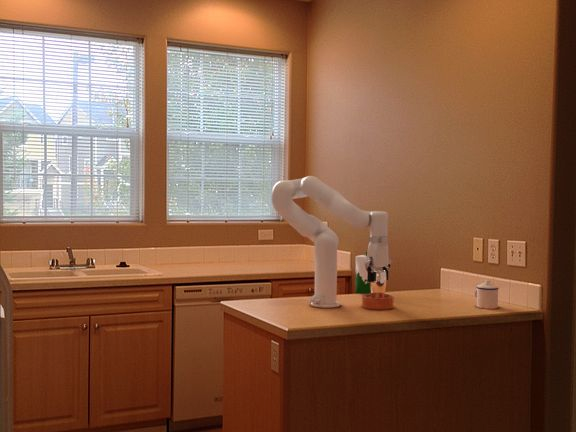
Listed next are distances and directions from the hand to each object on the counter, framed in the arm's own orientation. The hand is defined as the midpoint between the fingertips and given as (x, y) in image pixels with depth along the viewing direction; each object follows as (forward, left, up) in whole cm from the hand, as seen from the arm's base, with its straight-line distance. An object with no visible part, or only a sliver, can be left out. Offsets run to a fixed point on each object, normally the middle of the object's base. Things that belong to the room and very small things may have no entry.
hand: (377, 280), depth 279 cm
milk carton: (+27, +28, -12) cm, 41 cm away
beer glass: (0, 0, -11) cm, 11 cm away
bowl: (0, 0, -11) cm, 11 cm away
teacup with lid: (+36, -30, -12) cm, 48 cm away
